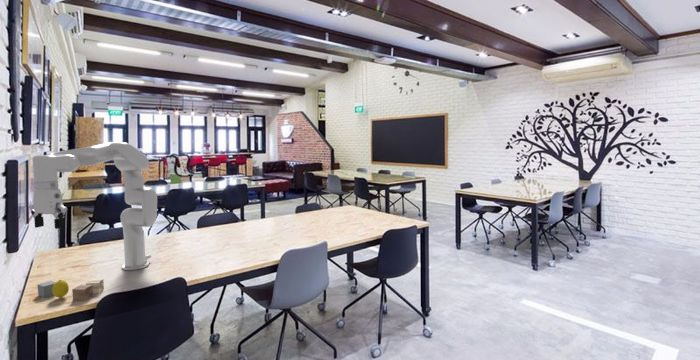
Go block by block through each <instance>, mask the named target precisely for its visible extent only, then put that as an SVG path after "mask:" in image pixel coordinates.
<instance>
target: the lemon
mask: <svg viewBox="0 0 700 360" xmlns="http://www.w3.org/2000/svg"><path fill="white" fill-rule="evenodd" d="M55 282H56V283H54V285H53V287H52V293H53V295H52V296H54V297H56V298H59V299H63V298H64V297H65V296H67V295H68V293H69V284H68V282H67V281H66V280H62V279H59V280H57V281H55Z"/></svg>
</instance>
